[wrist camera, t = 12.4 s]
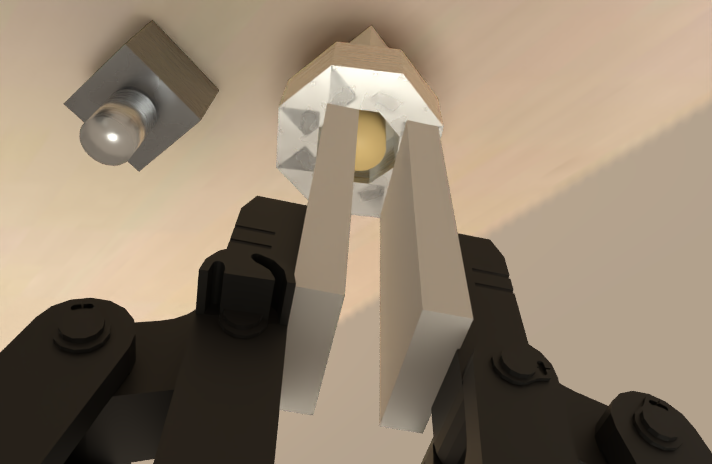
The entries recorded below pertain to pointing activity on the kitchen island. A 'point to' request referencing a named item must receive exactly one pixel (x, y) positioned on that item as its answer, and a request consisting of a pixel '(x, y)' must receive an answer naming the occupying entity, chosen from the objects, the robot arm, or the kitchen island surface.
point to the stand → (140, 100)
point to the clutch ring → (358, 91)
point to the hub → (371, 120)
